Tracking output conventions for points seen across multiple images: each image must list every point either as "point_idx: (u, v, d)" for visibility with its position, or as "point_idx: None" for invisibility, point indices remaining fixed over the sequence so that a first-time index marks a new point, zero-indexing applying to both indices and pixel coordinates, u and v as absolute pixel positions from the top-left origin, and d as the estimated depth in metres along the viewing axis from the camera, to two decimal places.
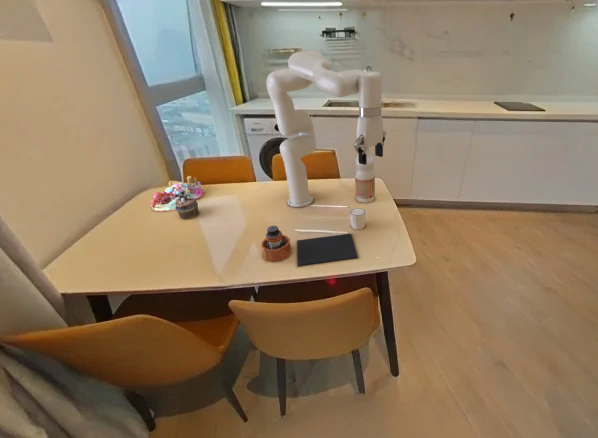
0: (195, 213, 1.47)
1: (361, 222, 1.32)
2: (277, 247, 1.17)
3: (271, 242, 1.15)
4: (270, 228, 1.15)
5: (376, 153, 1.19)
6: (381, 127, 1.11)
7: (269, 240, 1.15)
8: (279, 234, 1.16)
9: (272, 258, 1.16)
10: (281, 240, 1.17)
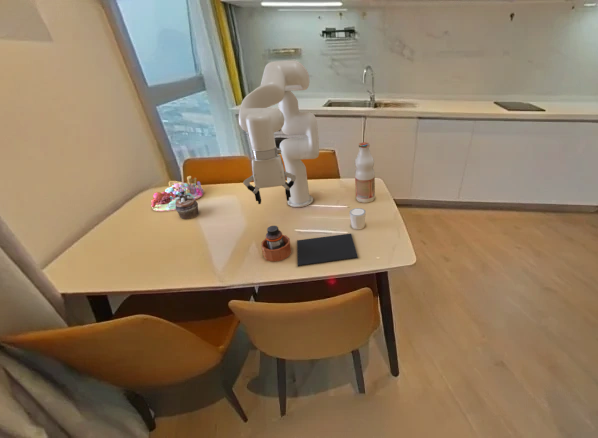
0: (195, 213, 1.47)
1: (361, 222, 1.32)
2: (277, 247, 1.17)
3: (271, 242, 1.15)
4: (270, 228, 1.15)
5: None
6: (278, 171, 1.03)
7: (269, 240, 1.15)
8: (279, 234, 1.16)
9: (272, 258, 1.16)
10: (281, 240, 1.17)
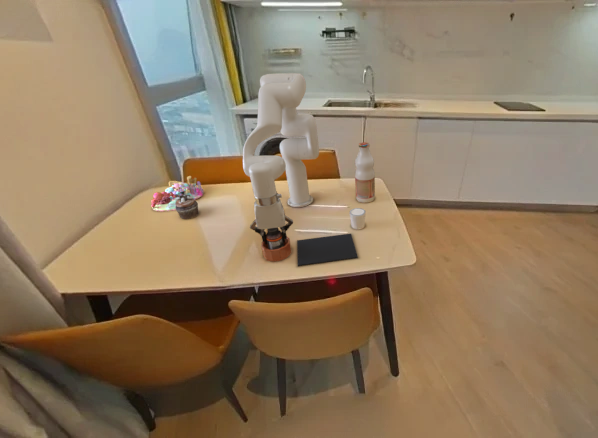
0: (195, 213, 1.47)
1: (361, 222, 1.32)
2: (277, 247, 1.17)
3: (271, 242, 1.15)
4: (270, 228, 1.15)
5: None
6: (278, 214, 1.11)
7: (269, 240, 1.15)
8: (279, 234, 1.16)
9: (272, 258, 1.16)
10: (281, 240, 1.17)
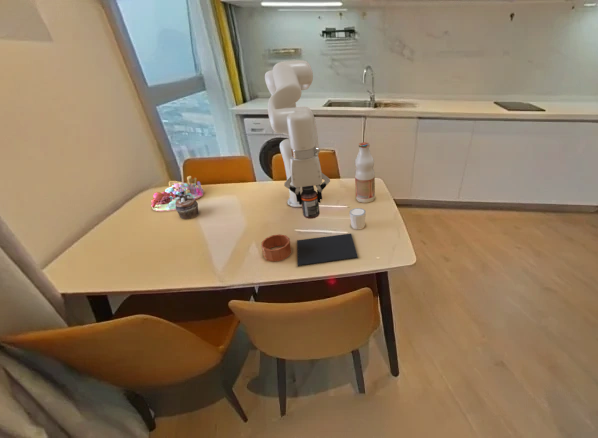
0: (195, 213, 1.47)
1: (361, 222, 1.32)
2: (312, 208, 1.09)
3: (306, 201, 1.08)
4: (305, 187, 1.08)
5: None
6: (316, 170, 1.03)
7: (304, 199, 1.08)
8: (315, 193, 1.08)
9: (272, 258, 1.16)
10: (316, 200, 1.09)
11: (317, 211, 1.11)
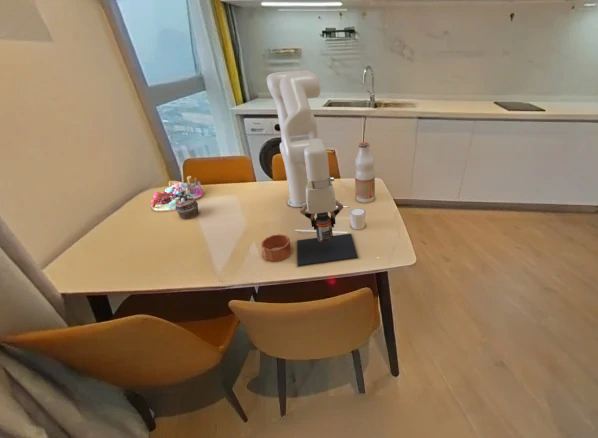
0: (195, 213, 1.47)
1: (361, 222, 1.32)
2: (326, 232, 1.15)
3: (320, 227, 1.13)
4: (320, 213, 1.13)
5: None
6: (330, 198, 1.09)
7: (319, 225, 1.13)
8: (329, 219, 1.14)
9: (272, 258, 1.16)
10: (330, 225, 1.15)
11: (331, 235, 1.17)
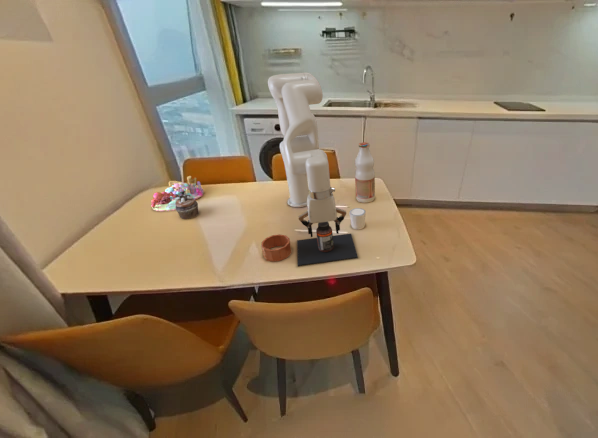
0: (195, 213, 1.47)
1: (361, 222, 1.32)
2: (327, 242, 1.17)
3: (321, 237, 1.16)
4: (321, 223, 1.16)
5: None
6: (331, 208, 1.11)
7: (320, 235, 1.15)
8: (330, 229, 1.16)
9: (272, 258, 1.16)
10: (331, 235, 1.17)
11: (331, 245, 1.19)
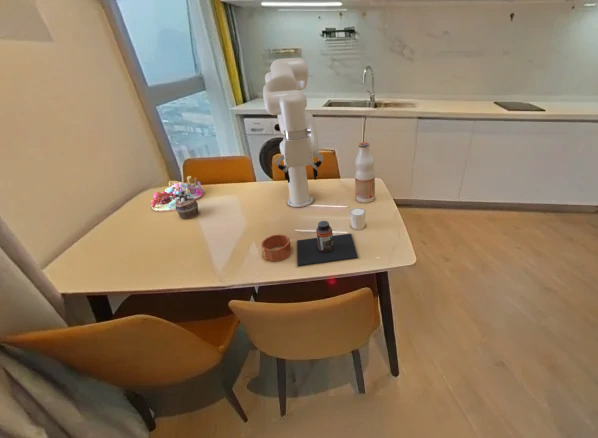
0: (195, 213, 1.47)
1: (361, 222, 1.32)
2: (327, 242, 1.17)
3: (321, 237, 1.15)
4: (321, 223, 1.16)
5: None
6: (308, 151, 1.09)
7: (320, 235, 1.15)
8: (330, 229, 1.16)
9: (272, 258, 1.16)
10: (331, 235, 1.17)
11: (331, 245, 1.19)
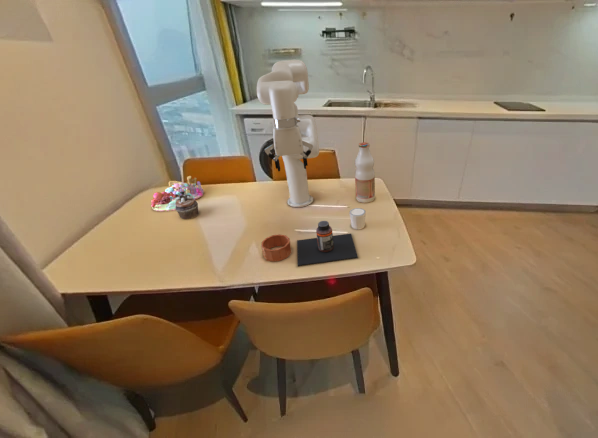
0: (195, 213, 1.47)
1: (361, 222, 1.32)
2: (327, 242, 1.17)
3: (322, 237, 1.15)
4: (321, 223, 1.16)
5: None
6: (297, 140, 1.12)
7: (320, 235, 1.15)
8: (330, 229, 1.16)
9: (272, 258, 1.16)
10: (331, 235, 1.17)
11: (331, 245, 1.19)
